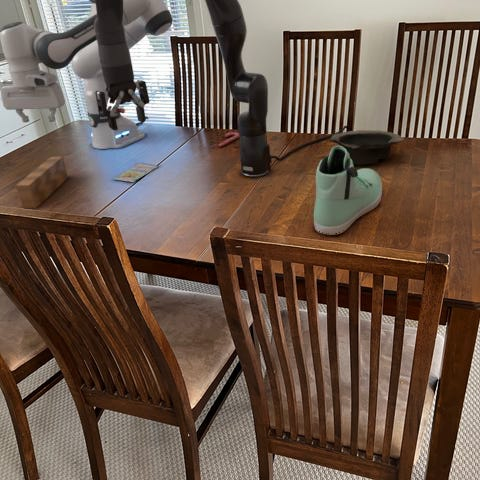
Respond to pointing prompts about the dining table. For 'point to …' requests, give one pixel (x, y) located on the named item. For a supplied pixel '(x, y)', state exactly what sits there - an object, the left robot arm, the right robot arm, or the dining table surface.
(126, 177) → the baking ingredient package
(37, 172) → the bar
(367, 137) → the stone bowl
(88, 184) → the dining table surface
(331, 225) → the sneaker
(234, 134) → the candy cane
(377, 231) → the dining table surface
